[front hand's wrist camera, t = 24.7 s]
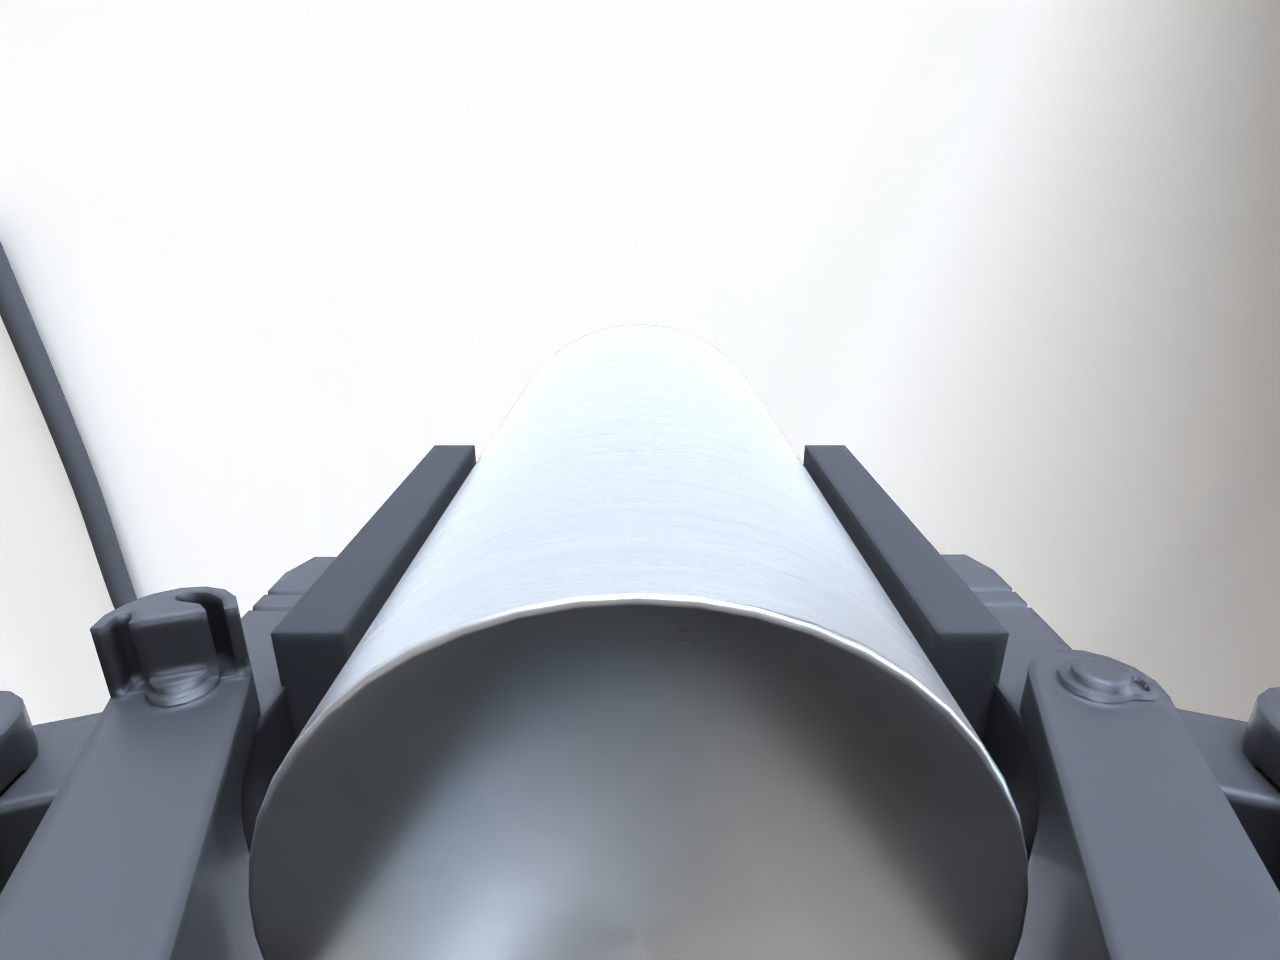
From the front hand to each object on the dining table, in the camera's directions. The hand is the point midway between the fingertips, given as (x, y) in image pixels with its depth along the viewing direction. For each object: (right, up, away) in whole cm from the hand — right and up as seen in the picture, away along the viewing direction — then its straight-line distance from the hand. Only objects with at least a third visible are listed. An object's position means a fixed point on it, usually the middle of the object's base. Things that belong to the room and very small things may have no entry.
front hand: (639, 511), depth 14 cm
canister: (0, +1, +3) cm, 4 cm away
